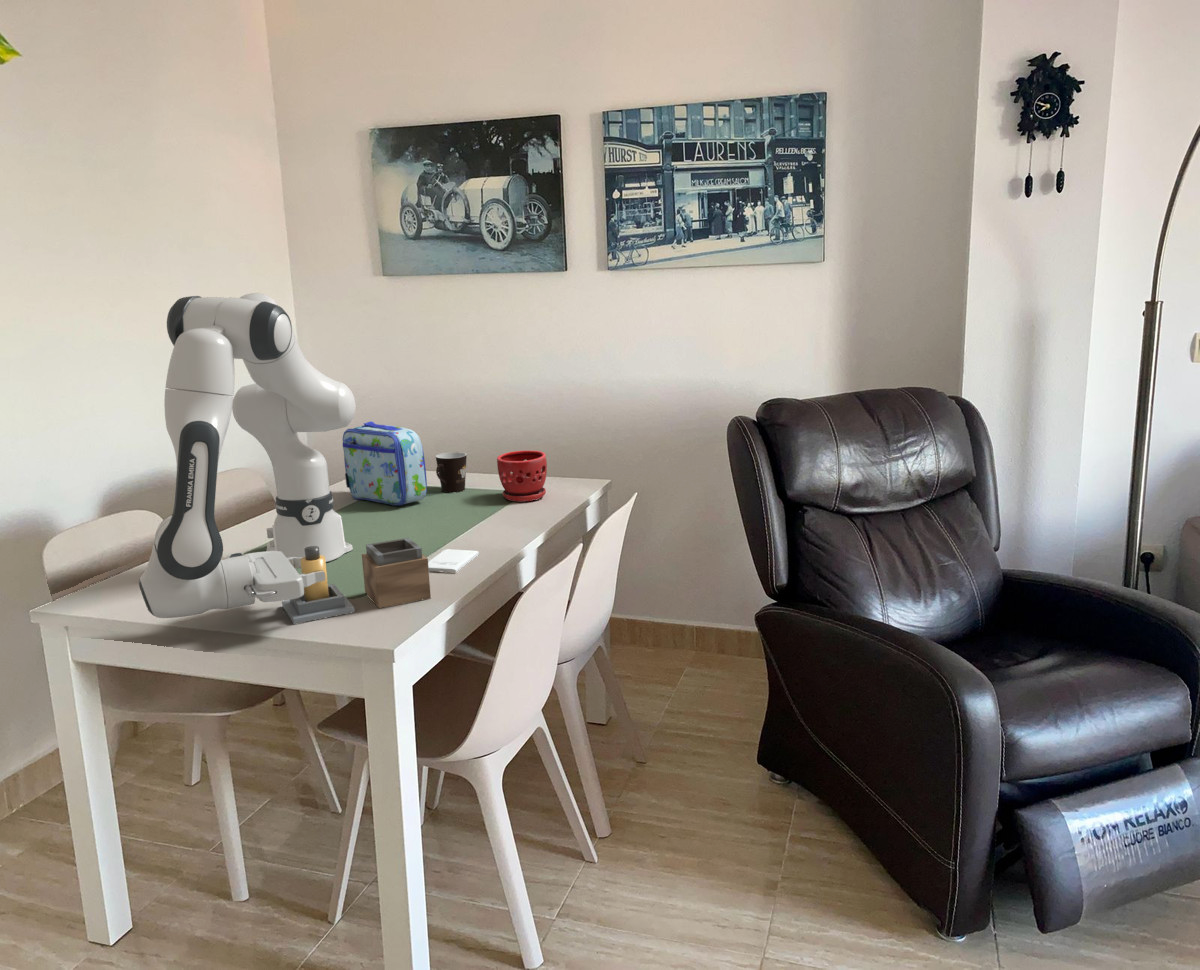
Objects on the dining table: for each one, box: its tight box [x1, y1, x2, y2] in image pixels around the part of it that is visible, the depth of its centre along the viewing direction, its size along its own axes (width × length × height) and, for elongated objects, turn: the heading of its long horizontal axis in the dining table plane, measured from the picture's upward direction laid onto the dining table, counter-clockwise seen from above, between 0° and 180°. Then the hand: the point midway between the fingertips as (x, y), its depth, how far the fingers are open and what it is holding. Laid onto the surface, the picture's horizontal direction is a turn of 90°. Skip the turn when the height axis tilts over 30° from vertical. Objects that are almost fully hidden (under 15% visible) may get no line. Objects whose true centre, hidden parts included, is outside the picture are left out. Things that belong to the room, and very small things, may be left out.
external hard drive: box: [428, 548, 480, 573], centre depth 206 cm, size 2×8×12 cm
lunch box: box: [342, 421, 428, 507], centre depth 260 cm, size 26×11×21 cm, turn 48°
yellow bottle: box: [300, 546, 329, 602], centre depth 180 cm, size 4×4×11 cm
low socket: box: [281, 583, 356, 625], centre depth 181 cm, size 11×11×3 cm
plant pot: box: [496, 449, 548, 503], centre depth 259 cm, size 13×13×12 cm
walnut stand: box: [361, 537, 432, 609], centre depth 186 cm, size 10×10×10 cm
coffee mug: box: [435, 451, 468, 494], centre depth 270 cm, size 12×9×10 cm
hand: (318, 568), depth 180 cm, fingers open, 8 cm apart
